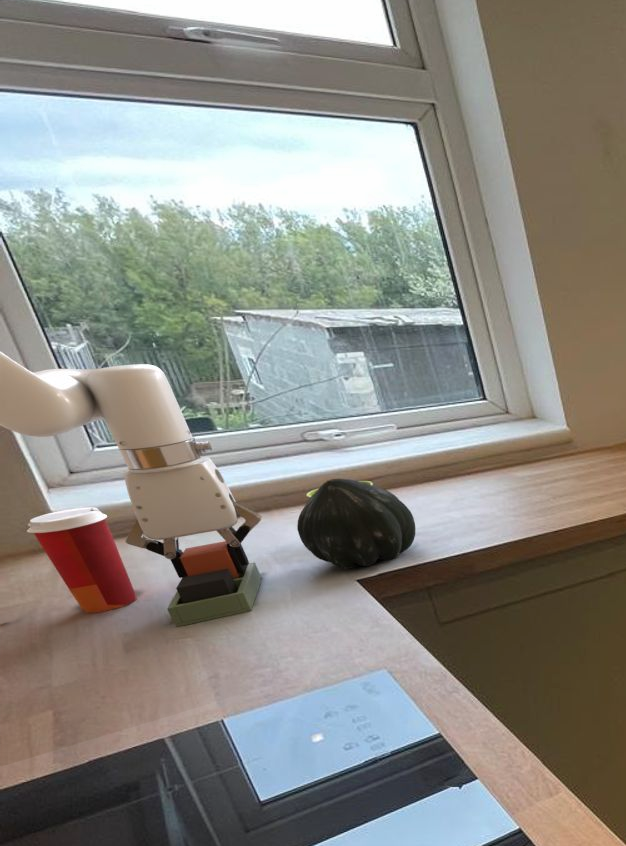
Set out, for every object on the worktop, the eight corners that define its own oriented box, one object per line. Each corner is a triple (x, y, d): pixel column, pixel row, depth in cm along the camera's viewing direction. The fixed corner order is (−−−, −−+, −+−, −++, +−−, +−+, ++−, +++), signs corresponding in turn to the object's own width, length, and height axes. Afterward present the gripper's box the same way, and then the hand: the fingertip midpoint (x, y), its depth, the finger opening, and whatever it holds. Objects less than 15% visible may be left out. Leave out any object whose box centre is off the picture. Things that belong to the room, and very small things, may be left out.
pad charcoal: (190, 617, 113) (175, 588, 111) (195, 606, 116) (182, 577, 115) (236, 607, 115) (223, 578, 113) (241, 596, 119) (228, 568, 117)
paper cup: (146, 589, 124) (103, 502, 119) (146, 603, 119) (101, 513, 114) (73, 606, 119) (25, 515, 114) (69, 621, 114) (19, 527, 109)
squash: (396, 504, 142) (309, 456, 129) (449, 517, 136) (363, 468, 123) (348, 576, 137) (252, 533, 124) (401, 592, 131) (306, 549, 118)
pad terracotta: (193, 586, 117) (179, 557, 115) (198, 576, 121) (185, 548, 119) (238, 577, 120) (225, 549, 118) (242, 567, 124) (229, 540, 122)
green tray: (175, 627, 111) (166, 608, 110) (193, 592, 122) (185, 575, 121) (251, 610, 115) (243, 592, 114) (262, 578, 126) (254, 562, 125)
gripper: (244, 440, 120) (291, 554, 128) (84, 462, 111) (144, 583, 119) (238, 450, 115) (288, 568, 122) (69, 473, 106) (133, 599, 113)
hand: (216, 574), depth 120 cm, fingers closed on pad terracotta, 4 cm apart
